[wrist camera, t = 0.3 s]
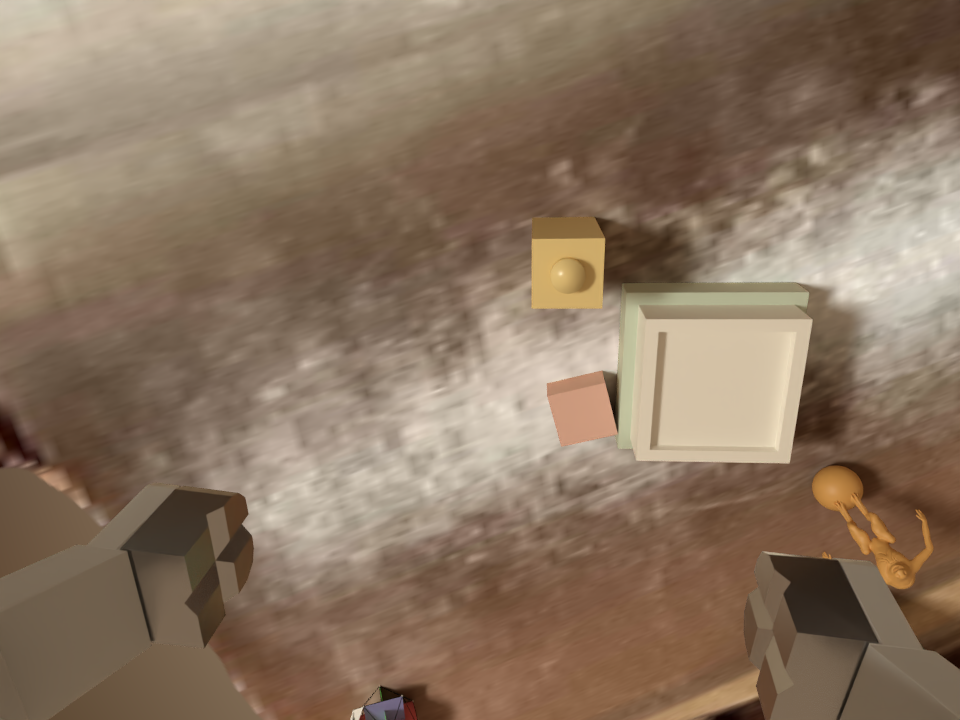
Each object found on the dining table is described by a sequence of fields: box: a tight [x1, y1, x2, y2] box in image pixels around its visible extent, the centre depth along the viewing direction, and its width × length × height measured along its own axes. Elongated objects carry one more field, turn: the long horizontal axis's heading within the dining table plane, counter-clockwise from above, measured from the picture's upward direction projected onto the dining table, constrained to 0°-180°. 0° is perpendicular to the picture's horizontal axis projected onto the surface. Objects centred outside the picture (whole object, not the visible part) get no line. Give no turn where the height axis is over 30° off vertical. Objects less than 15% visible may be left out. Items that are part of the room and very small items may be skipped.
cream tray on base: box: [615, 282, 813, 463], centre depth 55 cm, size 14×14×7 cm
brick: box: [547, 371, 618, 447], centre depth 59 cm, size 5×5×3 cm
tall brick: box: [532, 217, 605, 308], centre depth 51 cm, size 5×5×10 cm
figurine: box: [812, 465, 933, 589], centre depth 56 cm, size 8×6×12 cm
